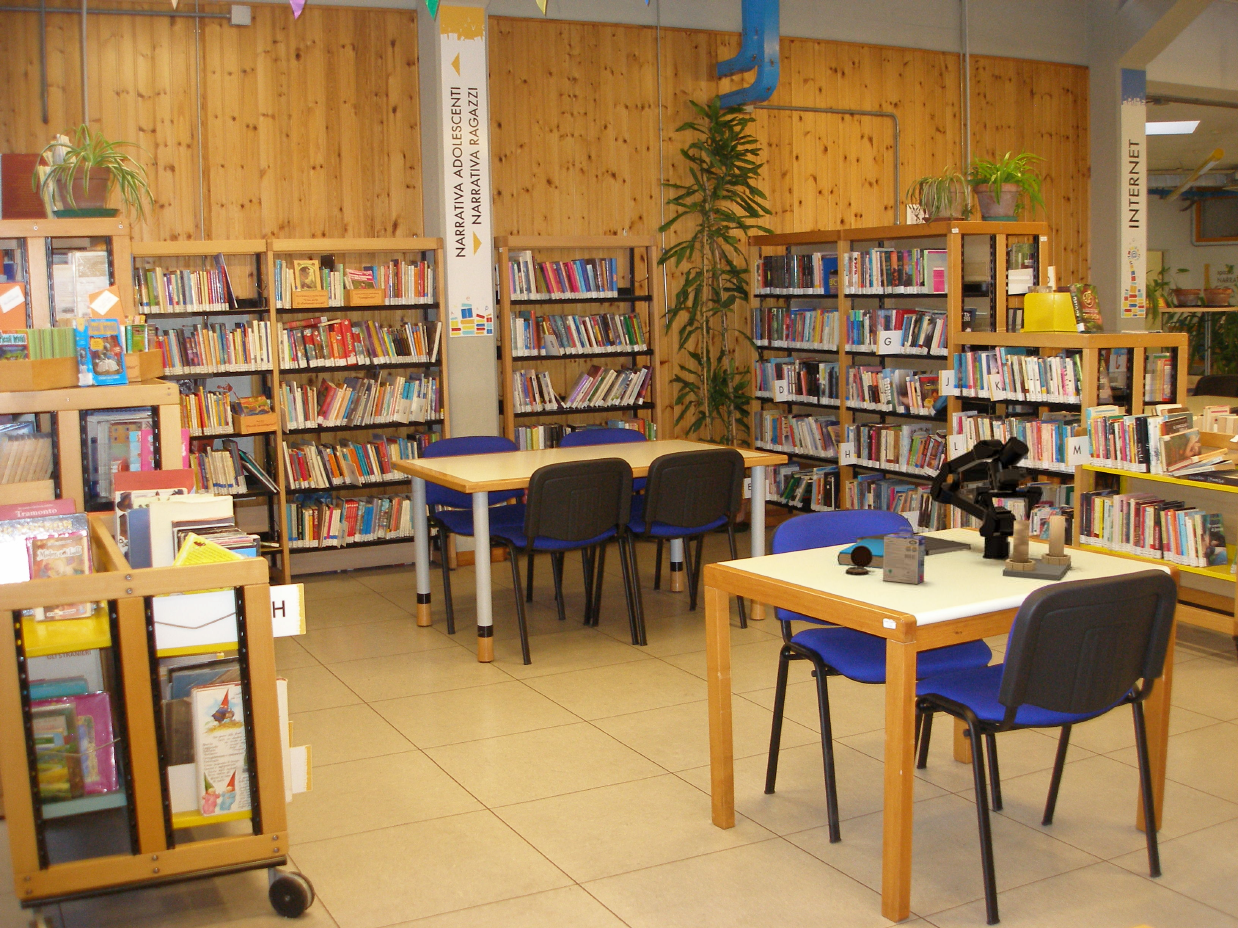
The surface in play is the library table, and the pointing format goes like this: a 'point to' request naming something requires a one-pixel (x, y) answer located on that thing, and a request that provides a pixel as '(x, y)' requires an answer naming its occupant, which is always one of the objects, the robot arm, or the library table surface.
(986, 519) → the robot arm
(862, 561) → the compass
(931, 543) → the notebook
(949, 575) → the library table surface
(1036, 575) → the board
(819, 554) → the library table surface
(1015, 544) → the pin
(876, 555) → the book
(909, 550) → the ink cartridge box
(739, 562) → the library table surface
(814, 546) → the library table surface
